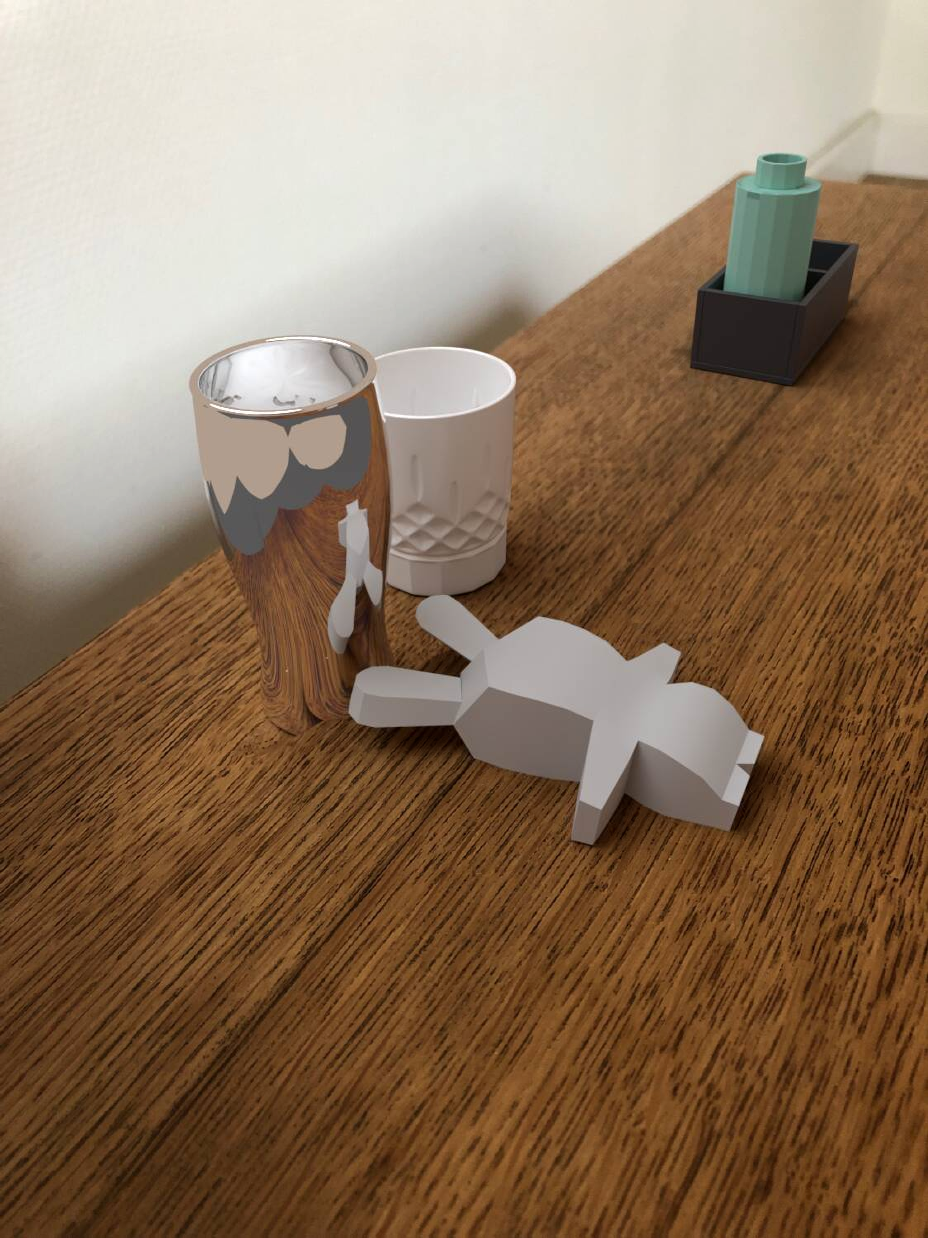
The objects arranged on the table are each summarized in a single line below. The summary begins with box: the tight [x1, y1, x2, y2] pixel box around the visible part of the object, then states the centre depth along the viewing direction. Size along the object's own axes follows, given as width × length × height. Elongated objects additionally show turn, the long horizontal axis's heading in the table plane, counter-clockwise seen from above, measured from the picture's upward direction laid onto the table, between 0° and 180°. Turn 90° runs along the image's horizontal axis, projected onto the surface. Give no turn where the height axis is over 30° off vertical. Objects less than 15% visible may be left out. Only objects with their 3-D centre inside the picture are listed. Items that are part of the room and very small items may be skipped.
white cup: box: [374, 346, 517, 597], centre depth 50 cm, size 8×8×10 cm
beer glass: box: [188, 334, 399, 736], centre depth 40 cm, size 7×7×15 cm
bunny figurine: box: [349, 595, 765, 846], centre depth 40 cm, size 10×5×15 cm
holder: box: [689, 238, 860, 387], centre depth 73 cm, size 7×14×6 cm, turn 150°
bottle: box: [723, 152, 823, 302], centre depth 68 cm, size 5×5×12 cm
